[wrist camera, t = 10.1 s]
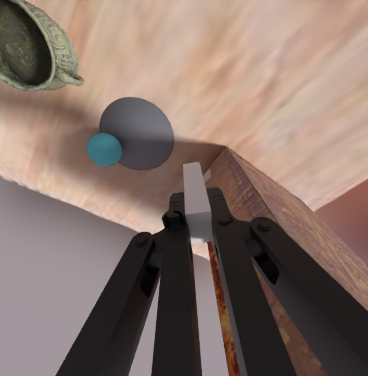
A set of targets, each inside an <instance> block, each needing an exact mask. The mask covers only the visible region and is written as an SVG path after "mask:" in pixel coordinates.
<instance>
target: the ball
mask: <svg viewBox="0 0 368 376" xmlns="http://www.w3.org/2000/svg"><path fill="white" fill-rule="evenodd" d="M86 150H87V154H88V156H89V157H90V159H91V160H92V161H93V162H95V163H97V164H99V165H102V166H110V165H113V164H115V163H116V162H118V161H119V159H120V158H121V155H122V147H121V144H120V142H119V141H118V140H117V139H116V138H115V137H114V136H112V135H110V134H107V133H98V134H95V135H93V136H92V137H90V139H89V140H88V142H87V145H86Z"/></svg>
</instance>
